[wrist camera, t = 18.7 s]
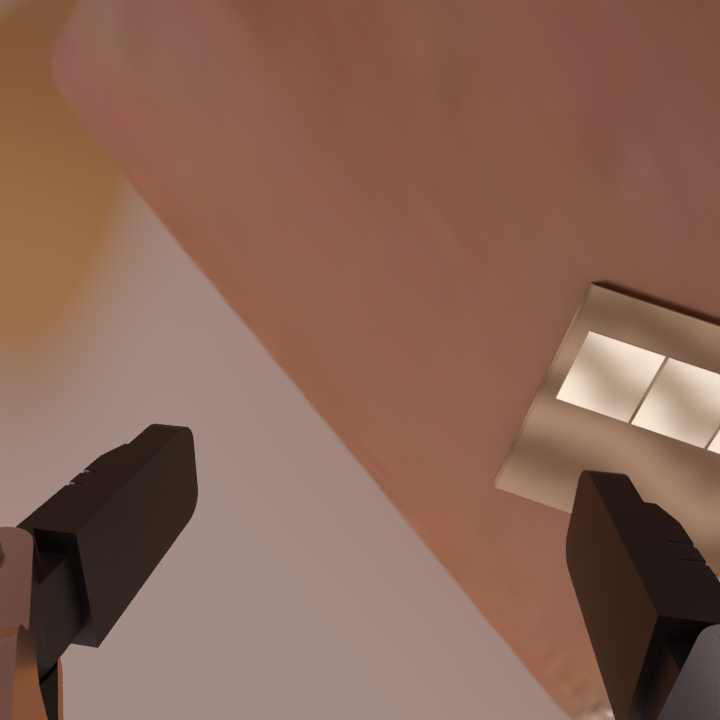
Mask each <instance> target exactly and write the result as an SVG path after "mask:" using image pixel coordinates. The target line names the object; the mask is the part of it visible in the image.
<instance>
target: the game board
mask: <svg viewBox="0 0 720 720" xmlns="http://www.w3.org/2000/svg"><path fill="white" fill-rule="evenodd" d="M583 470H593V471H603V472H612V473H622V474H626V475H627V476H628V477H629V478H630V480H631V482H632V483H633V485H634V487H635V488H636V490H637V491H638V493H639V495H640V496H641V498H642V500H643V501H644V502H647V503H656V504H657V505H658V506H660V507H661V508H662V509H663V510H665V511H666V512H667V513H668V514H670V515H671V516H672V517H673V518H675V519H676V520H677V521H678V522H680V524H681V525H682V527H683V528H684V530H685V531H686V533H687V534H688V536H689V537H690V539H691V540H692V542H693V543H694V548H697V549H698V551H699V552H700V554H701V555H702V557H703V558H704V559H705V560H707V561H710V562H713V563H716V564H719V565H720V325H718V324H715V323H712V322H709V321H706V320H703V319H700V318H697V317H694V316H691V315H688V314H684V313H681V312H678V311H675V310H672V309H669V308H666V307H663V306H660V305H657V304H654V303H651V302H648V301H645V300H642V299H639V298H636V297H633V296H630V295H627V294H624V293H621V292H618V291H615V290H612V289H609V288H606V287H603V286H600V285H597V284H594V283H591V282H590V284H589V286H588V288H587V290H586V292H585V295H584V297H583V299H582V301H581V303H580V305H579V307H578V309H577V311H576V313H575V315H574V317H573V319H572V322H571V324H570V326H569V328H568V330H567V332H566V334H565V336H564V338H563V340H562V342H561V344H560V346H559V348H558V351H557V353H556V355H555V357H554V359H553V361H552V363H551V365H550V367H549V369H548V371H547V373H546V375H545V377H544V380H543V382H542V384H541V386H540V388H539V390H538V392H537V394H536V396H535V398H534V400H533V402H532V404H531V407H530V409H529V411H528V413H527V415H526V417H525V419H524V421H523V423H522V425H521V427H520V429H519V431H518V433H517V436H516V438H515V440H514V442H513V444H512V446H511V448H510V450H509V452H508V454H507V456H506V458H505V460H504V462H503V465H502V467H501V469H500V471H499V473H498V475H497V477H496V479H495V486H496V488H499V489H502V490H505V491H507V492H510V493H513V494H516V495H519V496H522V497H525V498H528V499H531V500H533V501H536V502H539V503H542V504H545V505H548V506H551V507H554V508H557V509H560V510H562V511H565V512H568V513H572V509H573V504H574V499H575V494H576V490H577V485H578V481H579V477H580V475H581V473H582V471H583Z"/></svg>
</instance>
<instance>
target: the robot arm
mask: <svg viewBox="0 0 720 720" xmlns="http://www.w3.org/2000/svg"><path fill="white" fill-rule="evenodd" d="M197 497H198V486H197V474H196V464H195V451H194V441H193V434H192V432H191V430H190V429H189V428H188V427H181V426H171V425H162V424H152V425H150V426H149V427H148V428H146V429H145V430H144V431H143V432H142V433H141V434H139V435H138V436H137V437H136V438H135V439H134V440H133V441H131V442H130V443H129V444H124V445H122V446H120V447H117V448H115V449H113V450H111V451H109V452H107V453H105V454H103V455H101V456H100V457H99V458H97V459H96V460H95V461H94V462H93V463H91V464H90V465H89V466H88V467H87V468H85V469H84V472H83V473H79V474H78V475H77V476H76V477H75V478H74V479H72V480H71V481H70V482H69V485H65V486H64V487H63V488H62V489H61V490H59V491H58V492H57V493H56V494H54V495H53V496H52V497H51V498H50V499H49V500H48V501H46V502H45V503H44V504H43V505H41V506H40V507H39V508H38V509H37V510H36V511H34V512H33V513H32V514H31V515H30V516H28V517H27V518H26V519H25V520H24V521H22V522H21V523H20V524H19V525H18V526H16V527H0V720H64V719H63V718H64V716H63V715H64V714H63V670H62V663H61V659H60V656H61V655H62V654H63V653H64V651H65V650H66V649H67V647H68V646H69V645H70V644H71V643H72V644H78V645H84V646H91V647H96V648H98V647H99V646H100V644H101V643H102V641H103V640H104V639H105V637H106V636H107V634H108V633H109V632H110V630H111V629H112V627H113V626H114V625H115V623H116V622H117V620H118V619H119V618H120V616H121V615H122V614H123V612H124V611H125V609H126V608H127V606H128V605H129V604H130V602H131V601H132V600H133V598H134V597H135V596H136V594H137V593H138V591H139V590H140V589H141V587H142V586H143V584H144V583H145V581H146V580H147V579H148V577H149V576H150V574H151V573H152V572H153V570H154V569H155V567H156V566H157V565H158V563H159V562H160V561H161V559H162V558H163V557H164V555H165V554H166V552H167V551H168V550H169V548H170V547H171V545H172V544H173V543H174V541H175V540H176V538H177V537H178V536H179V534H180V533H181V532H182V530H183V529H184V527H185V526H186V525H187V523H188V522H189V520H190V519H191V517H192V515H193V513H194V510H195V507H196V503H197ZM566 560H567V566H568V570H569V573H570V577H571V580H572V583H573V586H574V589H575V593H576V596H577V599H578V602H579V605H580V609H581V612H582V615H583V618H584V621H585V624H586V628H587V631H588V634H589V637H590V640H591V644H592V647H593V650H594V653H595V656H596V660H597V663H598V666H599V669H600V672H601V675H602V679H603V682H604V685H605V688H606V691H607V695H608V698H609V701H610V704H611V707H612V711H613V714H614V717H615V720H720V582H719V580H718V579H717V577H716V576H715V574H714V573H713V571H712V570H711V568H710V567H709V566H706V561H705V559H704V558H703V557H702V555H701V554H700V552H699V551H698V549H697V548H694V543H693V542H692V540H691V539H690V537H689V536H688V534H687V533H686V531H685V530H684V528H683V527H682V525H681V524H680V522H678V521H677V520H676V519H675V518H673V517H672V516H671V515H670V514H668V513H667V512H666V511H665V510H663V509H662V508H661V507H660V506H658V505H657V504H656V503H647V502H644V501H643V500H642V498H641V496H640V495H639V493H638V491H637V490H636V488H635V487H634V485H633V483H632V482H631V480H630V478H629V477H628V476H627V475H626V474H622V473H612V472H603V471H593V470H583V471H582V473H581V475H580V477H579V481H578V485H577V490H576V494H575V499H574V504H573V509H572V513H571V518H570V523H569V528H568V532H567V538H566Z"/></svg>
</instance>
